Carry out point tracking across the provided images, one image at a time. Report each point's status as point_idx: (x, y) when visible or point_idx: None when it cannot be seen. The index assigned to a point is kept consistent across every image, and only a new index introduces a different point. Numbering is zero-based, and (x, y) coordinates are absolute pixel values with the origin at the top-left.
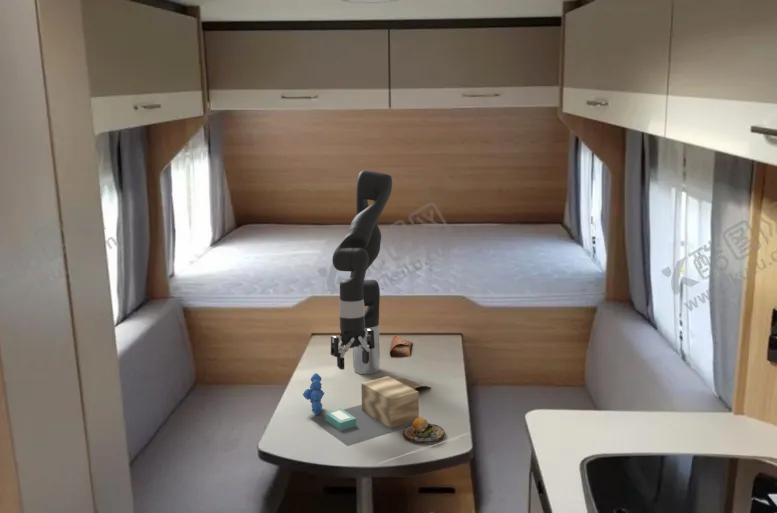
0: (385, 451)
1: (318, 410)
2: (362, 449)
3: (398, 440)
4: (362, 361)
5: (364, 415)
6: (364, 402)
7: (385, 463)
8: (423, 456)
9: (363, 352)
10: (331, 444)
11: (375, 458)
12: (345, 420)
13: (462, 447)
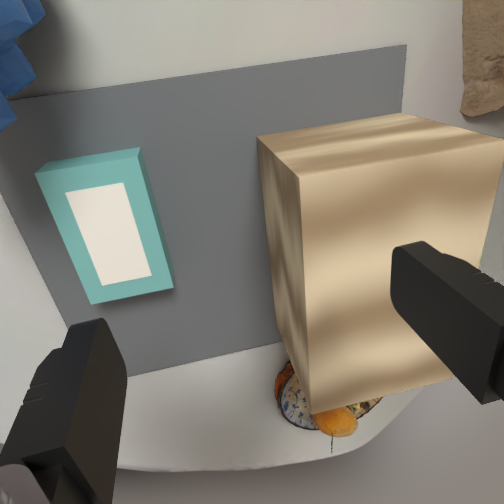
0: (196, 421)
1: (4, 94)
2: (137, 401)
3: (258, 382)
4: (399, 248)
5: (242, 193)
6: (270, 174)
7: (170, 463)
8: (268, 453)
9: (480, 346)
10: (42, 355)
11: (155, 443)
12: (121, 291)
13: (366, 438)
